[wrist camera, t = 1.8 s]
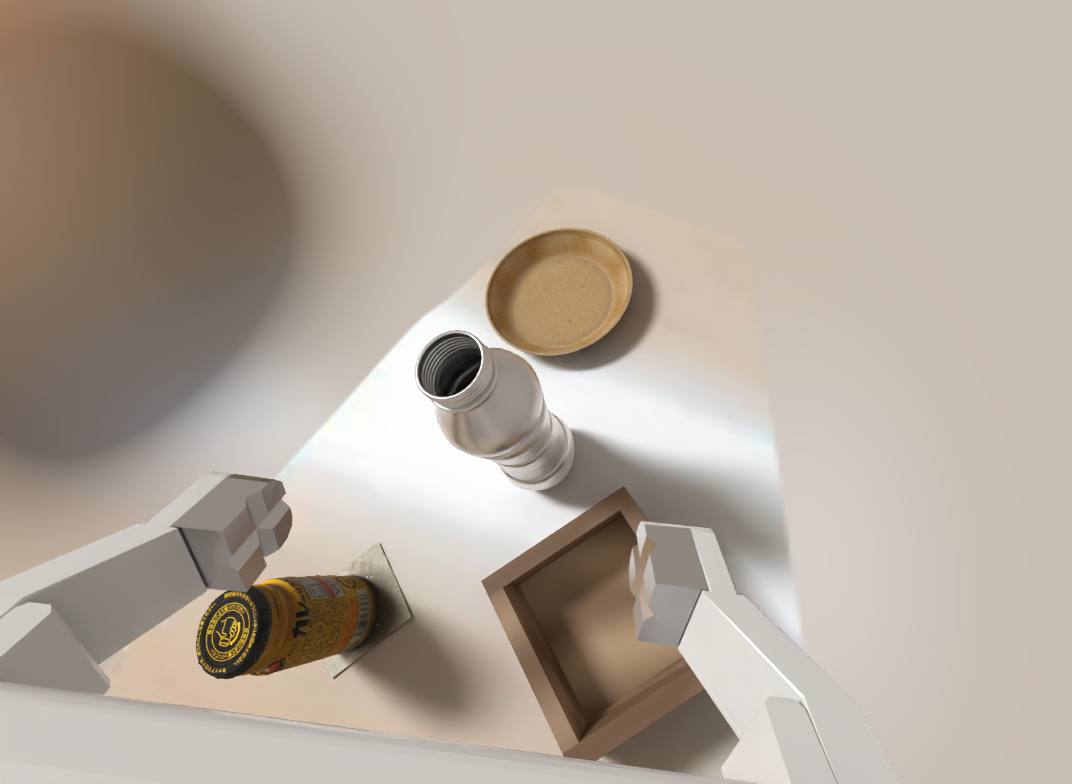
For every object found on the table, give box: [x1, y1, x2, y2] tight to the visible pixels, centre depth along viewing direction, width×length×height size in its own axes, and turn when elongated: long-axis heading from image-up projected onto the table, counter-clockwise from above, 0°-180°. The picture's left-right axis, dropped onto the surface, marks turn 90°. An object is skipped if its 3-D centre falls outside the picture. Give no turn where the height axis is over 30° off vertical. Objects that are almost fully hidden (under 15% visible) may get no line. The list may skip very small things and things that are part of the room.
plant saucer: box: [485, 228, 633, 356], centre depth 43 cm, size 15×15×3 cm
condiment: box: [196, 543, 411, 679], centre depth 32 cm, size 7×8×12 cm
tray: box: [482, 486, 705, 761], centre depth 30 cm, size 12×12×5 cm
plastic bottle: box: [415, 330, 575, 490], centre depth 29 cm, size 6×7×20 cm
